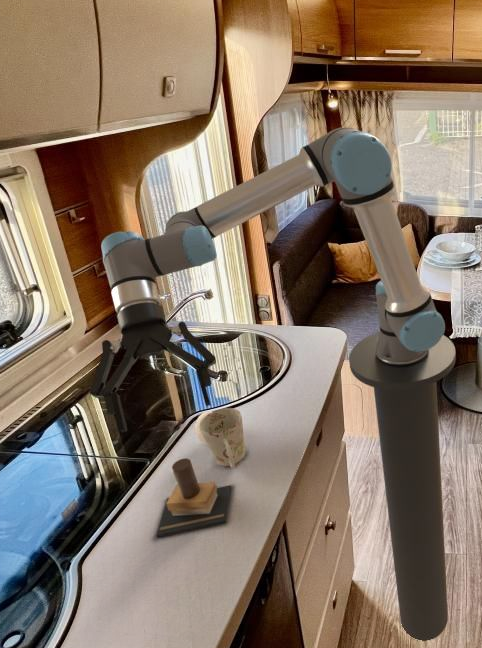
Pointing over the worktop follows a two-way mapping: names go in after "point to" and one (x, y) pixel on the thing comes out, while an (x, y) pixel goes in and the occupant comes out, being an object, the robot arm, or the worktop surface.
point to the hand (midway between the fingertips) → (167, 417)
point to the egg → (197, 428)
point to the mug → (224, 435)
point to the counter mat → (196, 516)
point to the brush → (190, 492)
